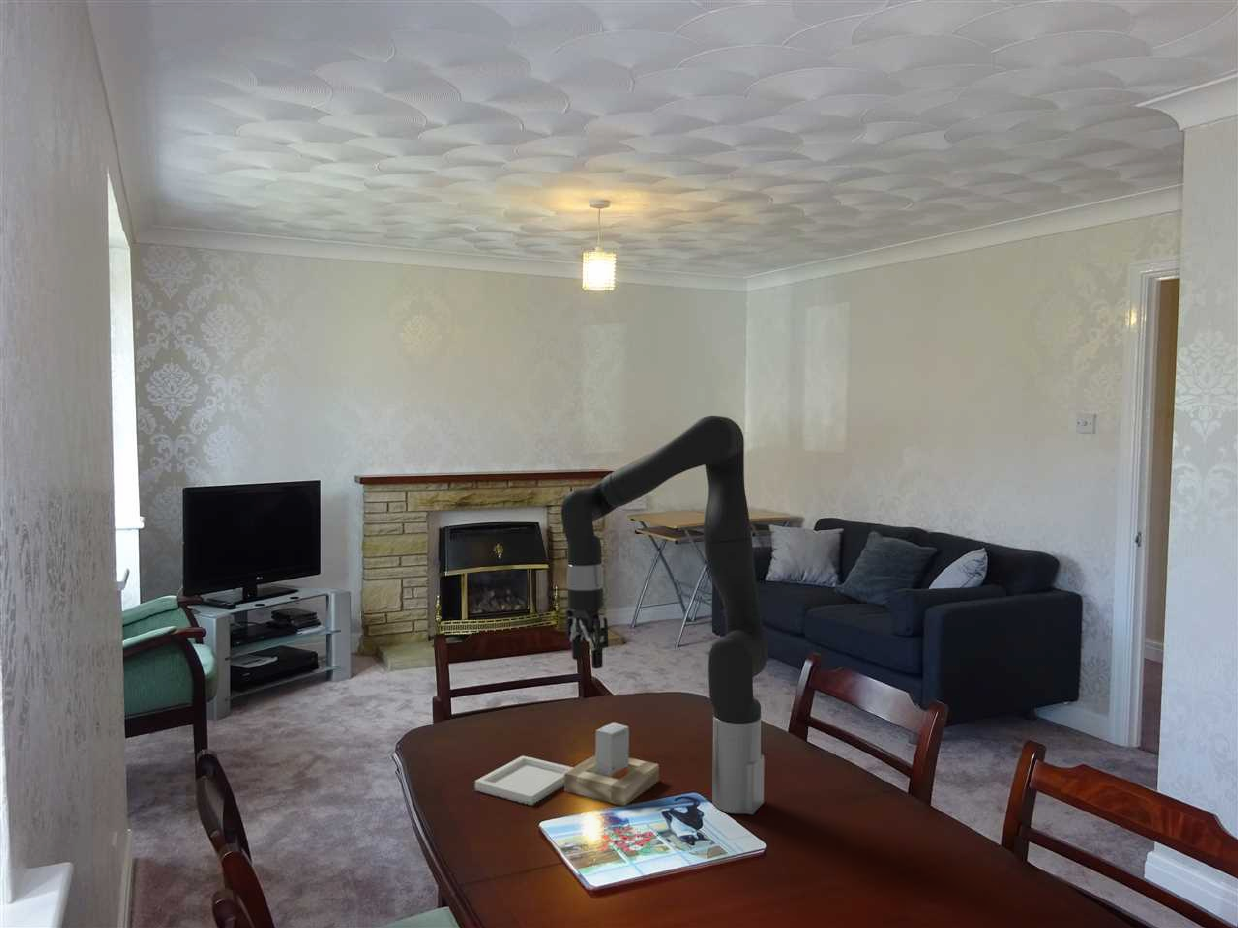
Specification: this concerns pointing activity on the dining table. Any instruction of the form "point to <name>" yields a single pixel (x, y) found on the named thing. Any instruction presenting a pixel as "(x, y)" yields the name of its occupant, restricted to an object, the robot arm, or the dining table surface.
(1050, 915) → the dining table surface
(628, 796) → the frame
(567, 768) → the grey tray
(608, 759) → the skincare box
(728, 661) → the robot arm
